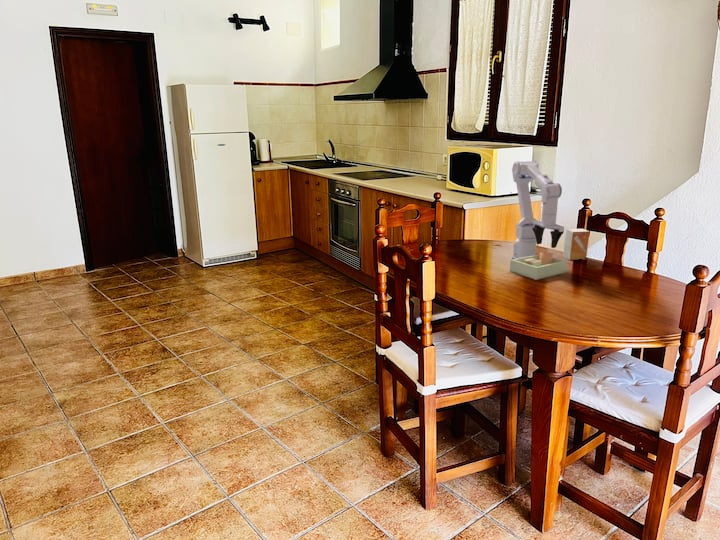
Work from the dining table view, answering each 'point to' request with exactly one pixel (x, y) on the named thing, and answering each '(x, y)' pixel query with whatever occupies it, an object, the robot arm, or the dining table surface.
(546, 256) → the terracotta capsule
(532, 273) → the tote
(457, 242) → the dining table surface
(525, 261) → the birch cube
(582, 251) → the small box
